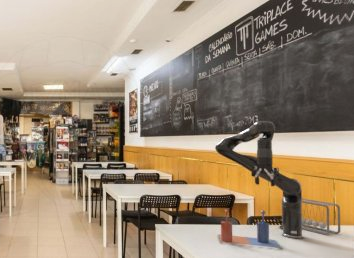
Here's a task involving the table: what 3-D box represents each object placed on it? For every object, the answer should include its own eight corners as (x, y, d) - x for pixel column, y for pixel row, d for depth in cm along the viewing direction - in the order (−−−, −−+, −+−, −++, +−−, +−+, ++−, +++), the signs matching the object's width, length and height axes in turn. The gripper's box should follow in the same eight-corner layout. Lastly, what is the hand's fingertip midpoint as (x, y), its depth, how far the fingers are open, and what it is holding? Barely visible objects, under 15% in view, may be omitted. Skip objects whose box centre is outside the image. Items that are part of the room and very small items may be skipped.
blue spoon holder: (256, 240, 184) (255, 208, 185) (267, 241, 183) (267, 209, 183) (258, 242, 179) (257, 210, 180) (270, 243, 177) (269, 211, 178)
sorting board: (218, 235, 195) (218, 234, 195) (274, 241, 185) (274, 239, 185) (220, 243, 180) (220, 241, 180) (281, 249, 170) (281, 248, 170)
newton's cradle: (340, 234, 201) (340, 204, 202) (328, 235, 198) (327, 205, 199) (293, 223, 230) (292, 196, 230) (281, 224, 226) (281, 197, 227)
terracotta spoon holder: (220, 238, 185) (220, 208, 186) (231, 240, 184) (231, 208, 184) (221, 241, 180) (221, 209, 181) (232, 242, 178) (232, 210, 179)
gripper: (248, 156, 195) (248, 184, 194) (273, 157, 182) (274, 187, 182) (256, 155, 198) (256, 183, 198) (281, 156, 186) (282, 186, 185)
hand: (265, 185), depth 190 cm, fingers open, 8 cm apart
